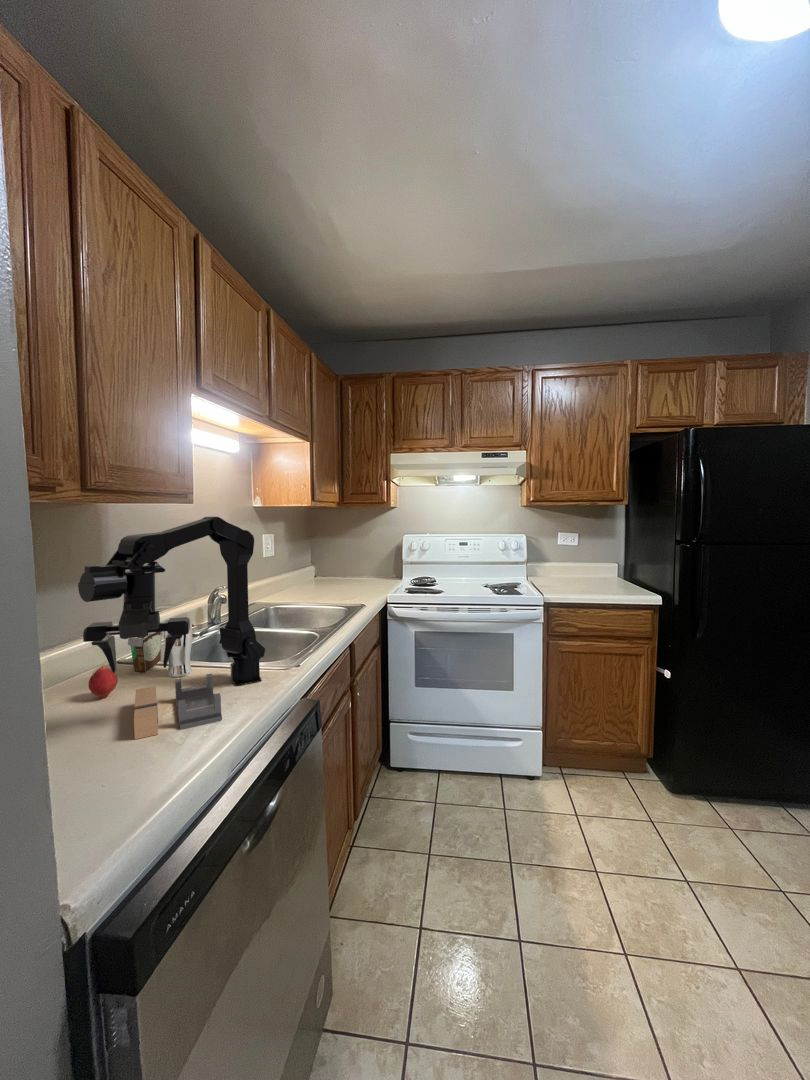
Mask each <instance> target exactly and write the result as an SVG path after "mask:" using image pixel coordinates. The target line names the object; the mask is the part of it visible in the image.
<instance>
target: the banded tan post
mask: <svg viewBox="0 0 810 1080" xmlns="http://www.w3.org/2000/svg"><path fill="white" fill-rule="evenodd" d="M134 697H135V698H134V706H133V729H134V730H133V731H134V740H139V739H144V738H147V737H152V736H156V735H159V727H158V725H159V715H158V713H159V712H158V711H159V710H158V702H157V687H156V685H155V686H149V687H142V688H138V689H135V696H134Z"/></svg>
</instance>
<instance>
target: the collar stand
mask: <svg viewBox="0 0 810 1080" xmlns="http://www.w3.org/2000/svg"><path fill="white" fill-rule="evenodd" d="M205 676H206V677H205V678H206V680H205V681H206V682H205V683H206V684H202V685H196V686H190V687H185V688H182V680H181V679H182V678H177V679H174V688H175V689H174V691H175V696H174V697H175V704H176V710H177V711H176V712H177V716H178V718H177V719H178V722H179V723H178V724H179V728H180V729H179V730H180V731H181V730H186V729H190V728H194V727H199V726H204V725H208V724H213V723H217V721H218V722H222V721H223V715H222V701H221V700H222V698H221V693H220V692H217V693H214V682H213V681H214V679H213V678H214V677H213V674H212V673H206V675H205ZM221 720H222V721H221Z"/></svg>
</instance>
